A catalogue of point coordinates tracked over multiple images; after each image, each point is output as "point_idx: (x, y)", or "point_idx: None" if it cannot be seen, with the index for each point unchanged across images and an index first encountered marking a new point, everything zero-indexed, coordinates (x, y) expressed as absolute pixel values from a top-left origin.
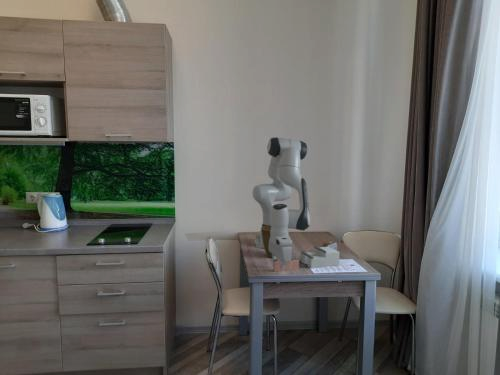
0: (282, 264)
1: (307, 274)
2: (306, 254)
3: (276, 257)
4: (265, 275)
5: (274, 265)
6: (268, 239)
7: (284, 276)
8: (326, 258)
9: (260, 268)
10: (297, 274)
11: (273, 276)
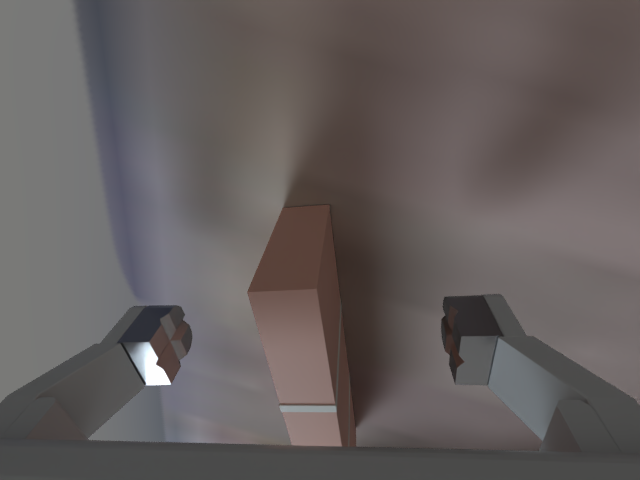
0: (59, 371)
1: (193, 432)
2: None
3: (512, 409)
4: (134, 15)
5: (274, 258)
6: None
7: (124, 267)
8: None
9: (520, 11)
10: (192, 381)
11: (105, 140)
